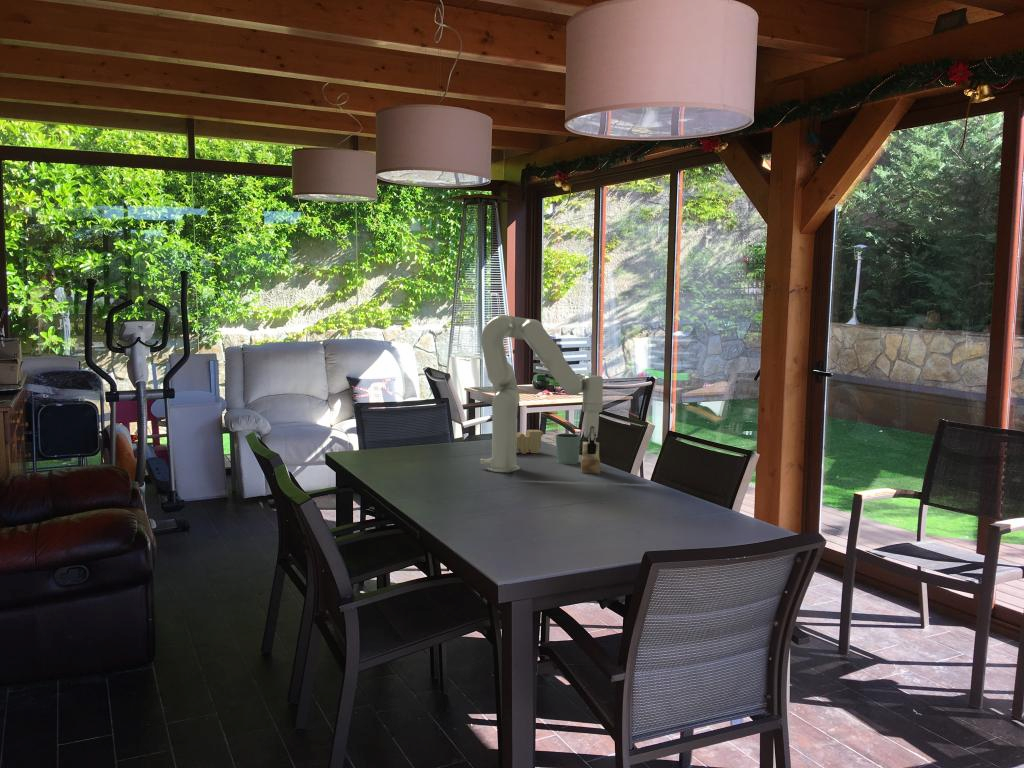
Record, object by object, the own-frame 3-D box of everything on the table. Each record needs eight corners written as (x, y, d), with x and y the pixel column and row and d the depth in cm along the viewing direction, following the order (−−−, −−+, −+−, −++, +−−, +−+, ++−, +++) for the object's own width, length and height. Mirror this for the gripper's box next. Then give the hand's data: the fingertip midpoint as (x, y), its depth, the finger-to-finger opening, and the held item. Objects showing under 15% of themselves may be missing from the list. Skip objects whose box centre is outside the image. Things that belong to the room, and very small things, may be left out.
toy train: (502, 452, 382) (502, 429, 381) (539, 451, 386) (540, 429, 385) (505, 454, 376) (505, 431, 375) (543, 454, 381) (543, 431, 380)
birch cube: (583, 459, 334) (583, 444, 333) (582, 457, 340) (583, 441, 339) (598, 460, 333) (599, 444, 333) (598, 457, 339) (598, 442, 339)
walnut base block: (581, 472, 334) (581, 459, 333) (580, 469, 341) (581, 456, 340) (599, 473, 333) (600, 460, 333) (598, 470, 340) (599, 457, 340)
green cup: (584, 465, 355) (585, 436, 354) (565, 467, 349) (565, 437, 348) (569, 461, 363) (570, 432, 362) (549, 463, 358) (550, 434, 357)
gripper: (581, 404, 344) (580, 448, 345) (583, 409, 326) (581, 455, 328) (600, 405, 343) (599, 448, 345) (603, 410, 326) (601, 456, 328)
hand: (590, 451), depth 336 cm, fingers open, 9 cm apart
